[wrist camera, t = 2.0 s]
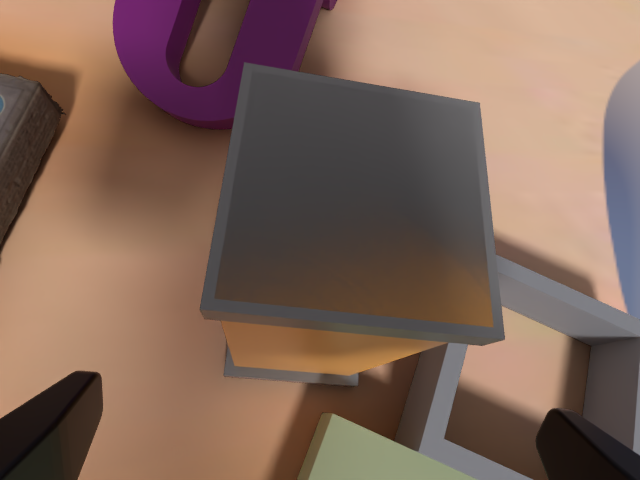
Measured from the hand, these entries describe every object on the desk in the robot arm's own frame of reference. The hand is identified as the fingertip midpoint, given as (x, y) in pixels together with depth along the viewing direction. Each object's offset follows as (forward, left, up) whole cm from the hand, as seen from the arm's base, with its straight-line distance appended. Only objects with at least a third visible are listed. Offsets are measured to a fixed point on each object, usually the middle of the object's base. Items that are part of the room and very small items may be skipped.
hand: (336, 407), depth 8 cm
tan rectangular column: (+3, +3, -11) cm, 11 cm away
